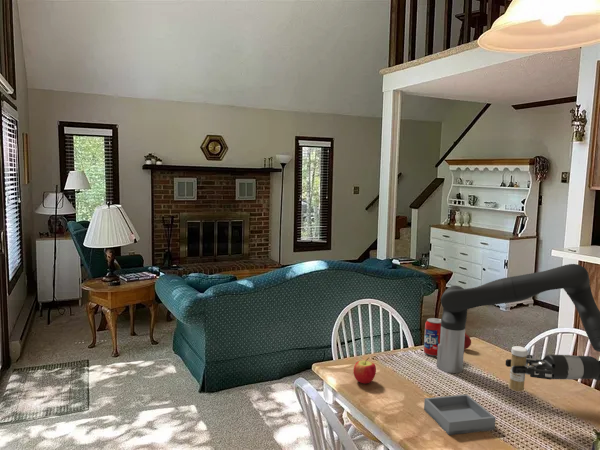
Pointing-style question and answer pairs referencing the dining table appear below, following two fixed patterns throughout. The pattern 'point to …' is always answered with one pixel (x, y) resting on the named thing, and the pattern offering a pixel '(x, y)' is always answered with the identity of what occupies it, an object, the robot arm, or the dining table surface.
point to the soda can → (432, 336)
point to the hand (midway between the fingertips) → (509, 366)
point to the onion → (467, 341)
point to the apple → (364, 371)
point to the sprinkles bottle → (517, 360)
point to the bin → (459, 414)
